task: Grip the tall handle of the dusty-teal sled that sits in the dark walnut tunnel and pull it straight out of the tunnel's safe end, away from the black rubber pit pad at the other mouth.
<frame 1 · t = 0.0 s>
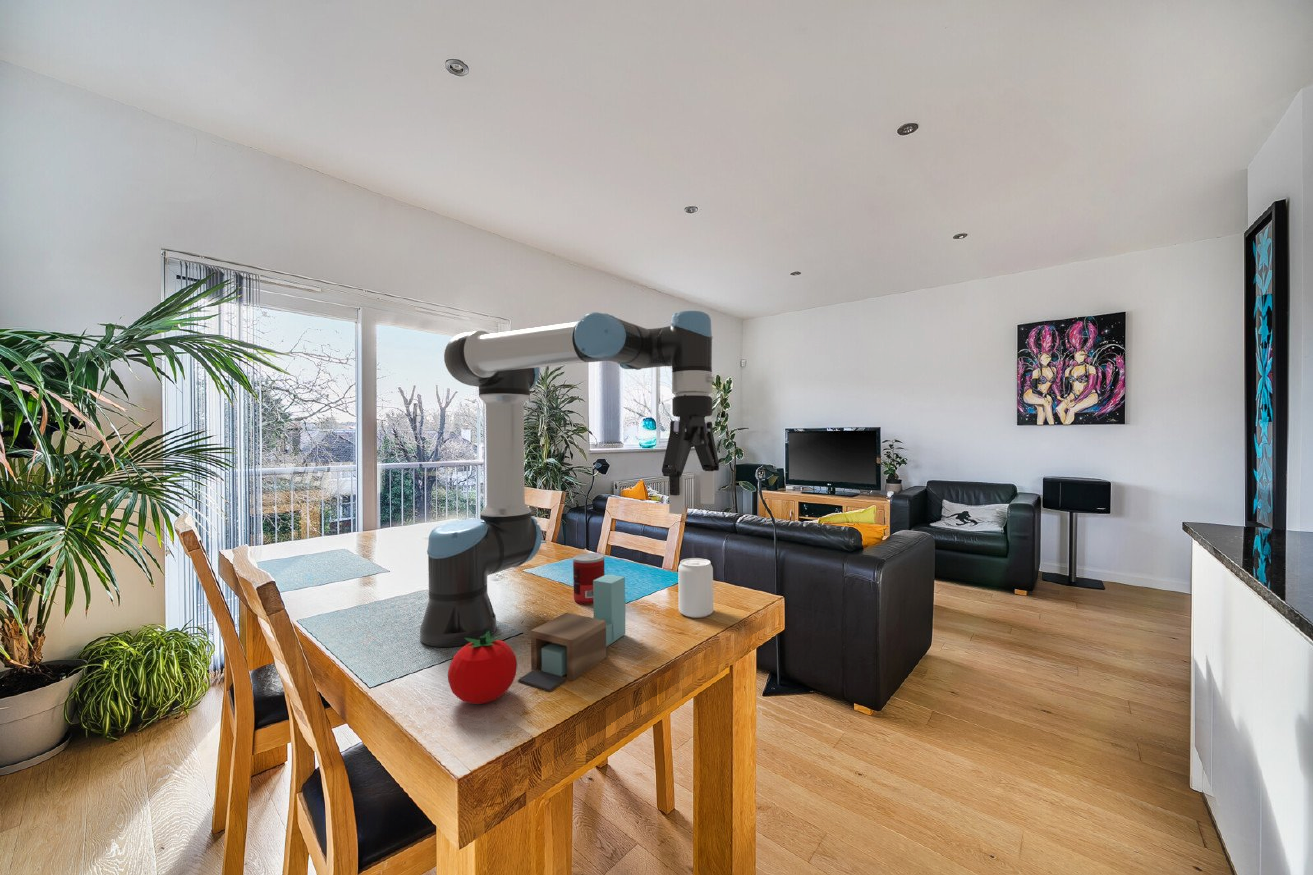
hand: (693, 508, 93), 28 cm above the table, fingers open, 13 cm apart
sled: (586, 620, 96), point 6 cm above the table, slide at 0.0 cm
pit pad: (541, 681, 84), on the table
canned food: (589, 600, 126), on the table
beverage can: (695, 613, 116), on the table
tomato: (483, 700, 79), on the table
tunnel: (569, 663, 91), on the table
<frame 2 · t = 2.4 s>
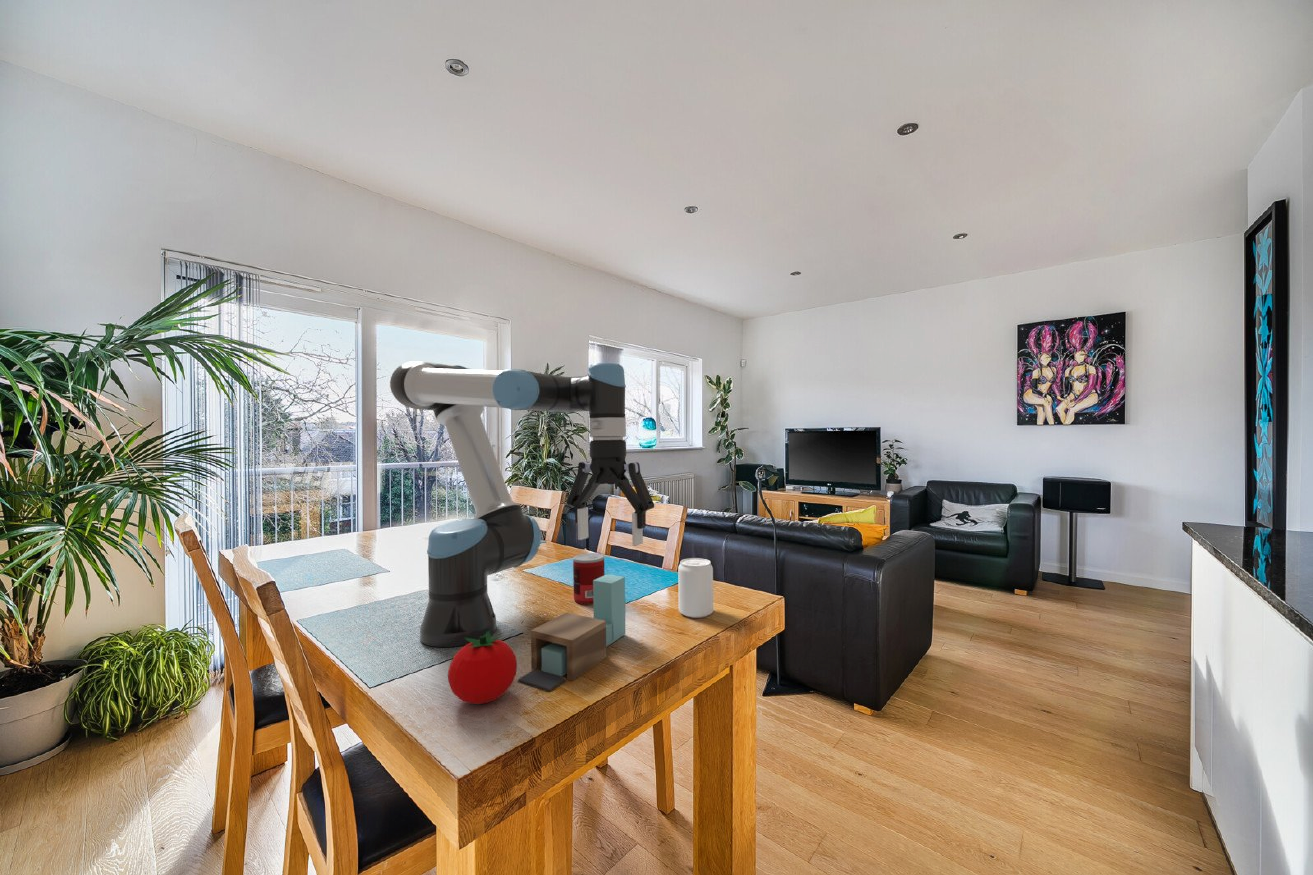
hand: (609, 541, 102), 20 cm above the table, fingers open, 13 cm apart
nothing on the table moved.
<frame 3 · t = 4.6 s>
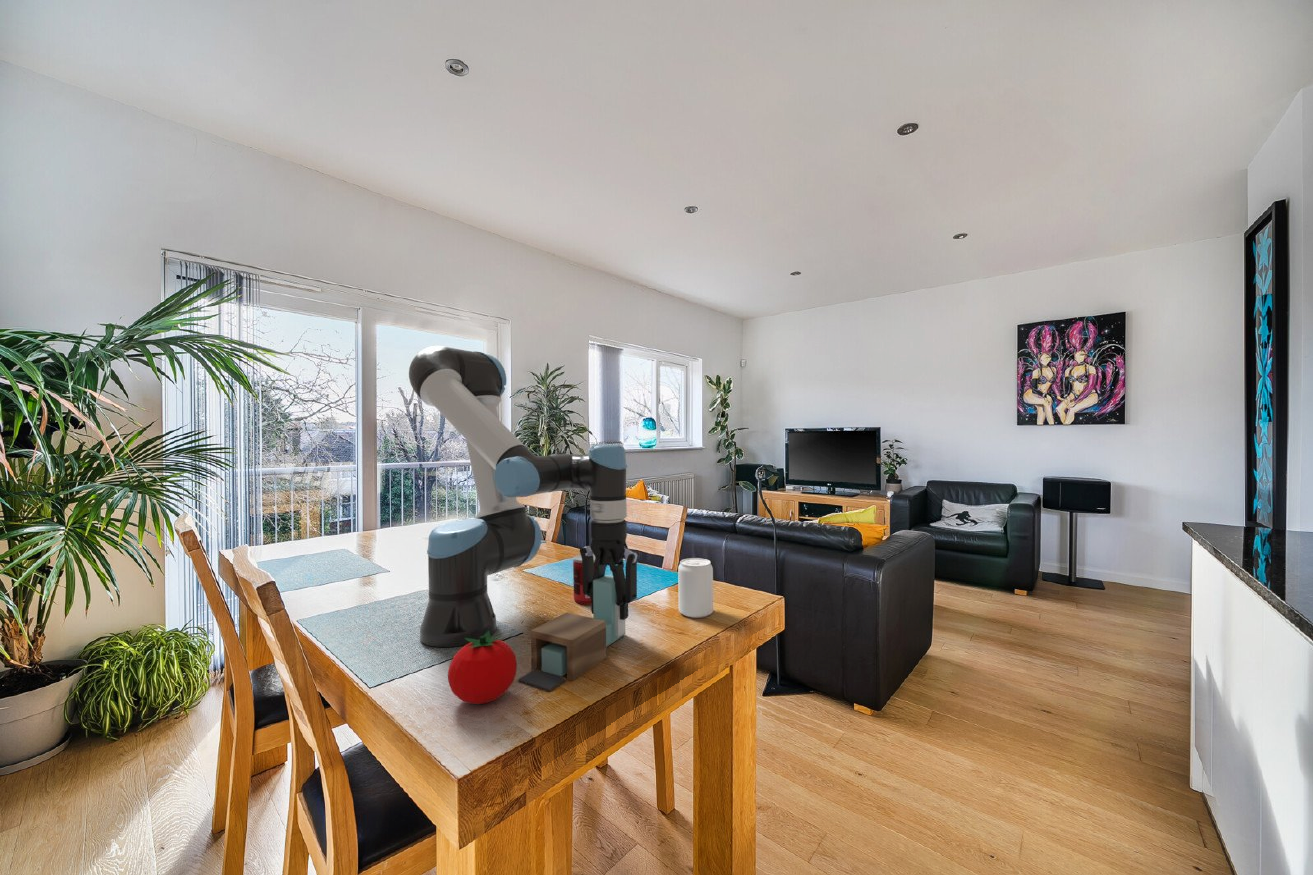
hand: (609, 631, 102), 1 cm above the table, fingers closed on sled, 4 cm apart
sled: (586, 620, 96), point 6 cm above the table, slide at 0.0 cm, touching gripper
everything else where it was.
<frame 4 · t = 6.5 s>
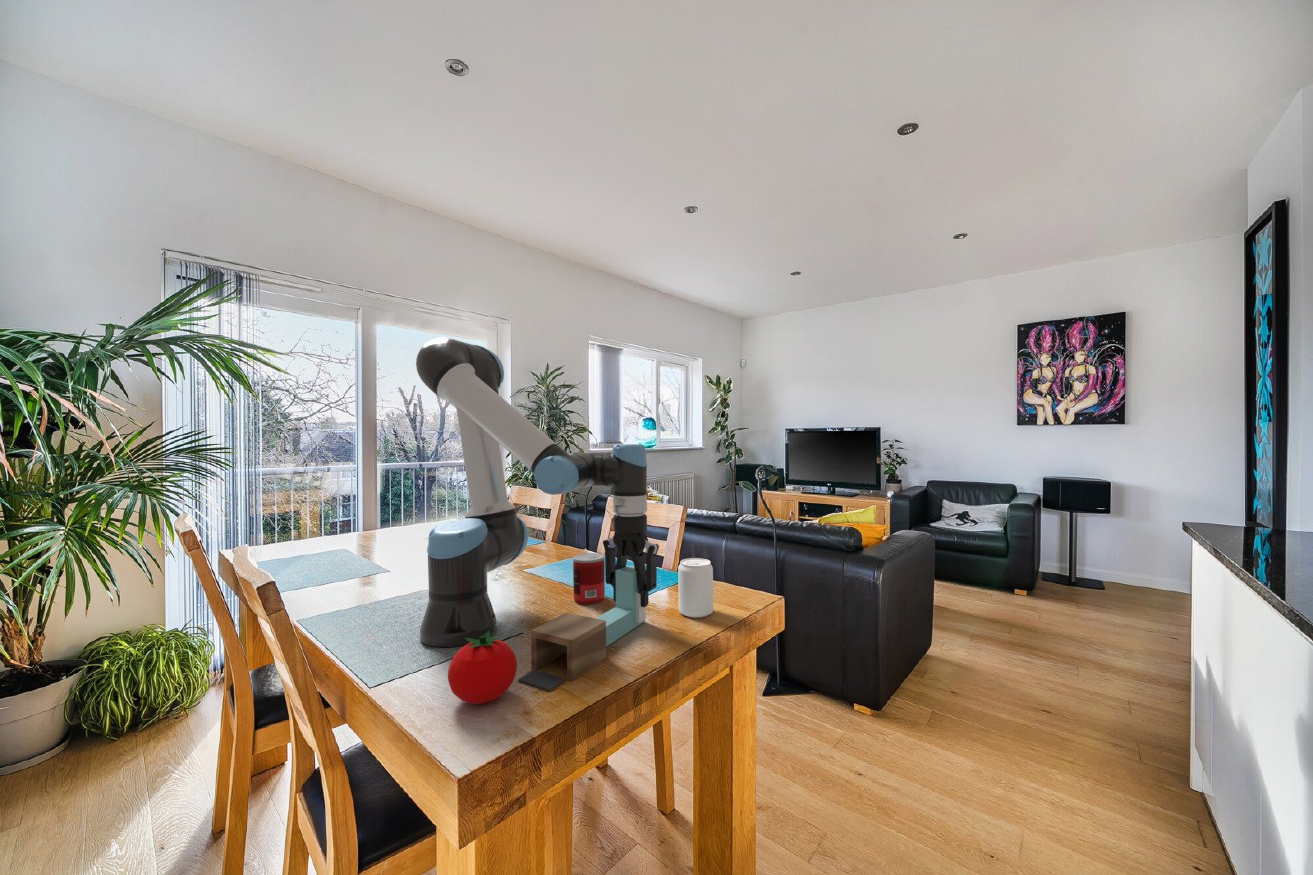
hand: (630, 618, 110), 1 cm above the table, fingers closed on sled, 5 cm apart
sled: (610, 606, 103), point 6 cm above the table, slide at 8.3 cm, touching gripper
everything else where it was.
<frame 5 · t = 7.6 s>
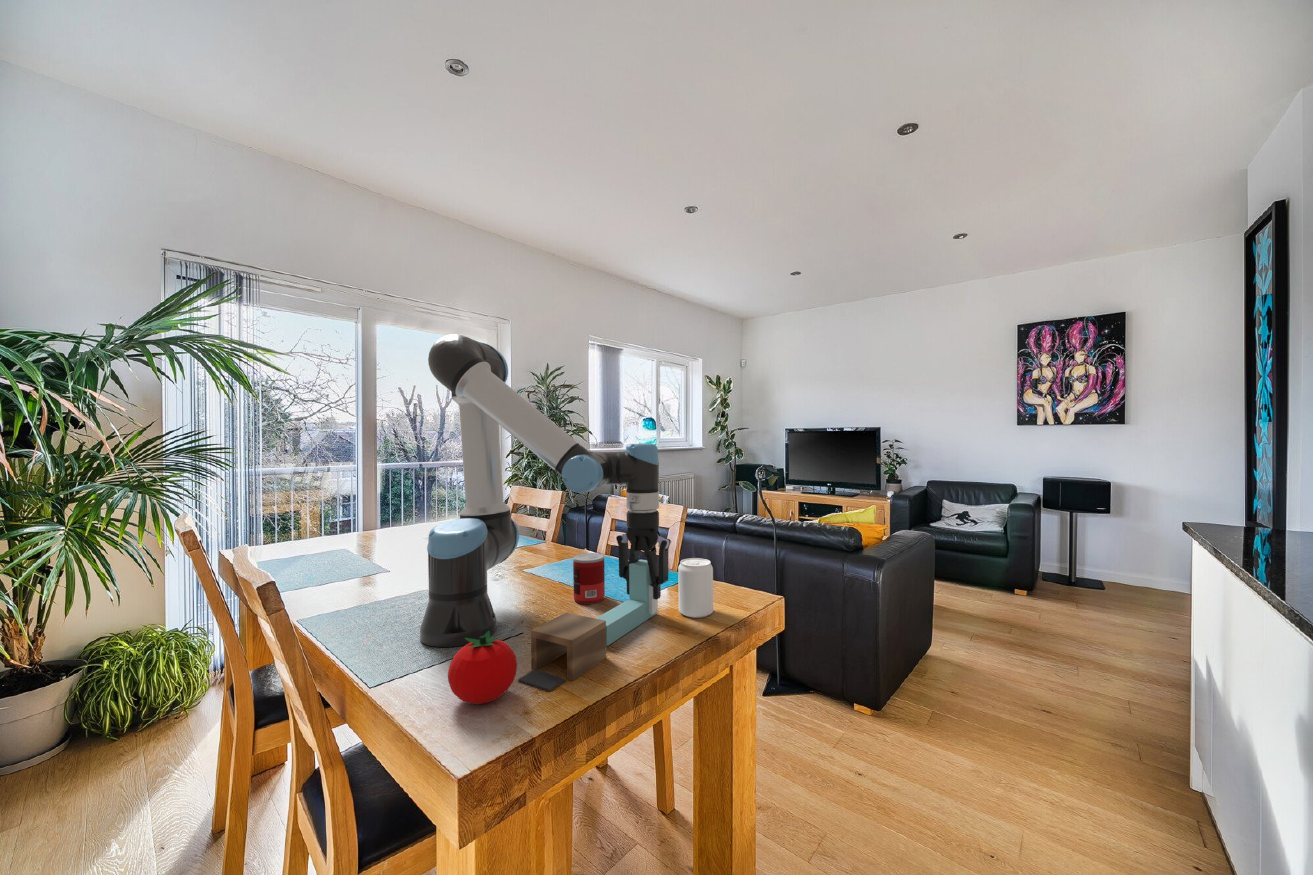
hand: (643, 610, 114), 1 cm above the table, fingers closed on sled, 4 cm apart
sled: (625, 598, 108), point 6 cm above the table, slide at 13.8 cm, touching gripper
everything else where it was.
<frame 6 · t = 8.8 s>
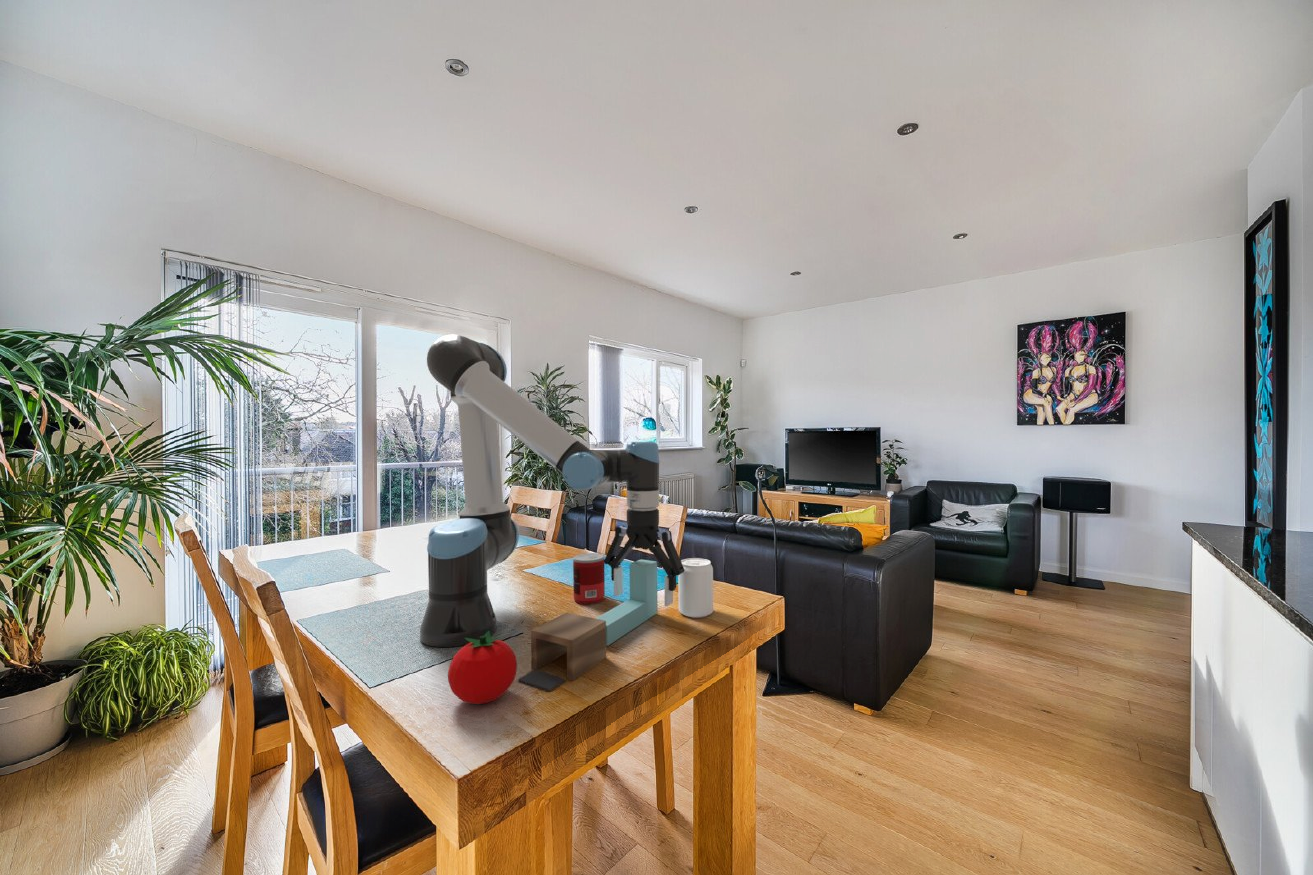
hand: (642, 599, 115), 4 cm above the table, fingers open, 13 cm apart
sled: (625, 598, 108), point 6 cm above the table, slide at 13.9 cm
everything else where it was.
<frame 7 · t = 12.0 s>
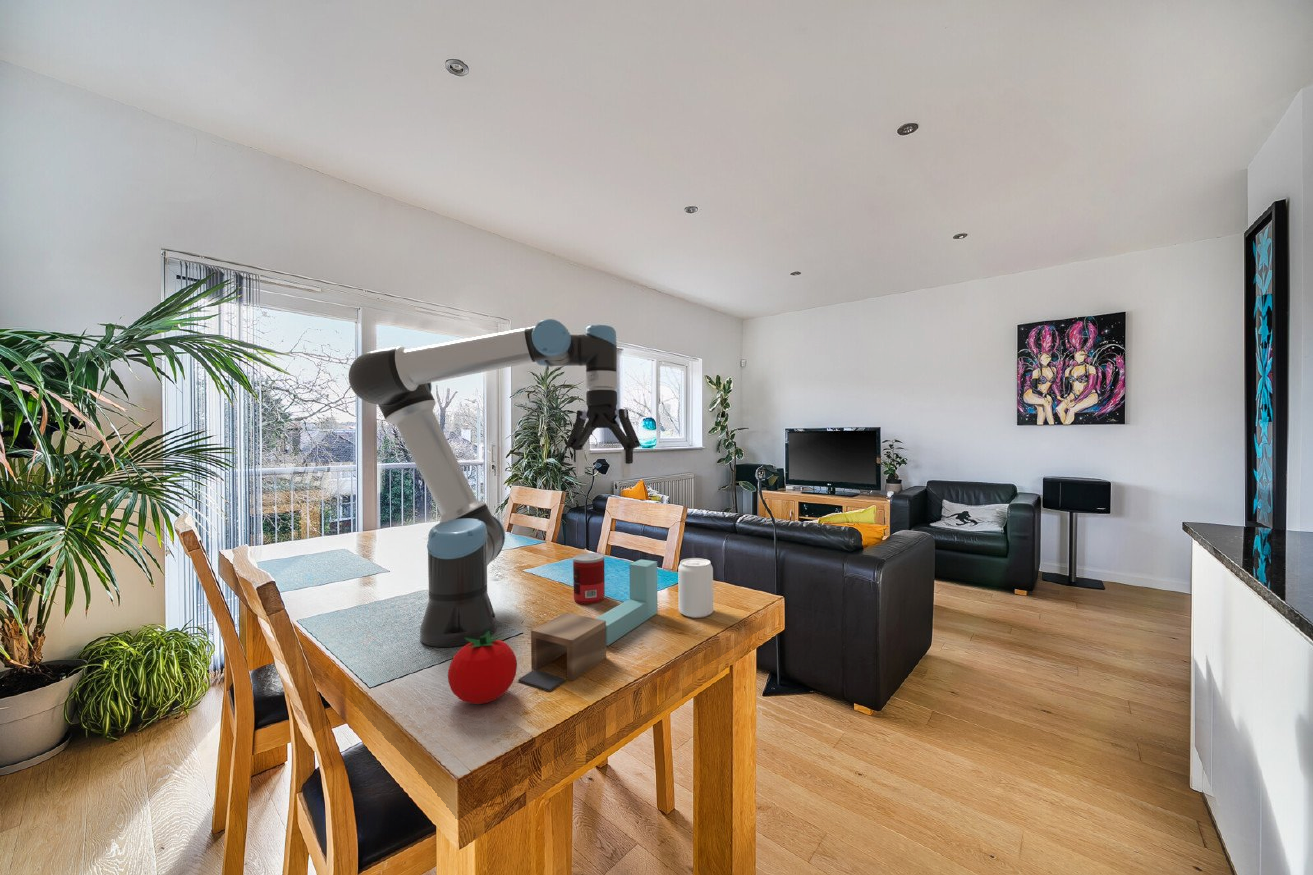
hand: (602, 476, 121), 32 cm above the table, fingers open, 13 cm apart
nothing on the table moved.
at the end: sled slide at 13.9 cm; the gripper is holding nothing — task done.
